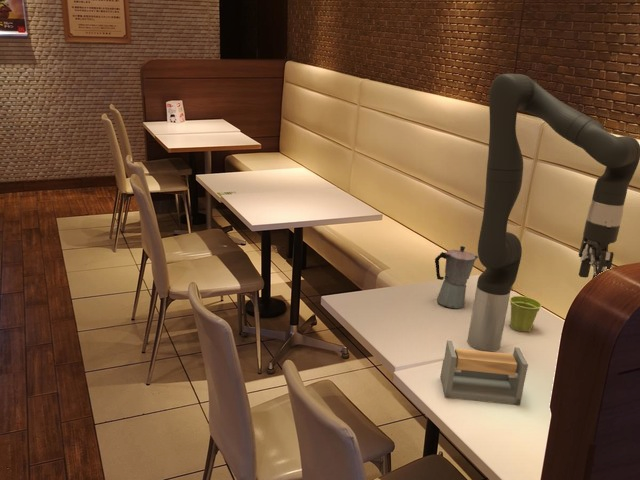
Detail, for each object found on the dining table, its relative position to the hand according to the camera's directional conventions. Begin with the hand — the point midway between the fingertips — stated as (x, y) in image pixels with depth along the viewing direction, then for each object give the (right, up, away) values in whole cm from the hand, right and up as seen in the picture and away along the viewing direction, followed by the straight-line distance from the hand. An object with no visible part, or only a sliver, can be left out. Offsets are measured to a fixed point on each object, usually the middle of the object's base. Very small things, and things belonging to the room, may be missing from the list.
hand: (588, 283), depth 156 cm
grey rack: (-27, -27, +1) cm, 38 cm away
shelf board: (-26, -20, -1) cm, 33 cm away
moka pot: (-24, -11, +52) cm, 58 cm away
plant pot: (-4, -17, +39) cm, 43 cm away
